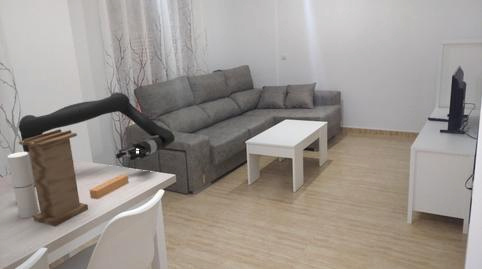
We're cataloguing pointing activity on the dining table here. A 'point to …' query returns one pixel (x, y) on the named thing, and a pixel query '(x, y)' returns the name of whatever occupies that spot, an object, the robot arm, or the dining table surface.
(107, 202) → the dining table surface
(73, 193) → the walnut stand
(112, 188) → the orange bar
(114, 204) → the dining table surface
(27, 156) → the cylindrical container
